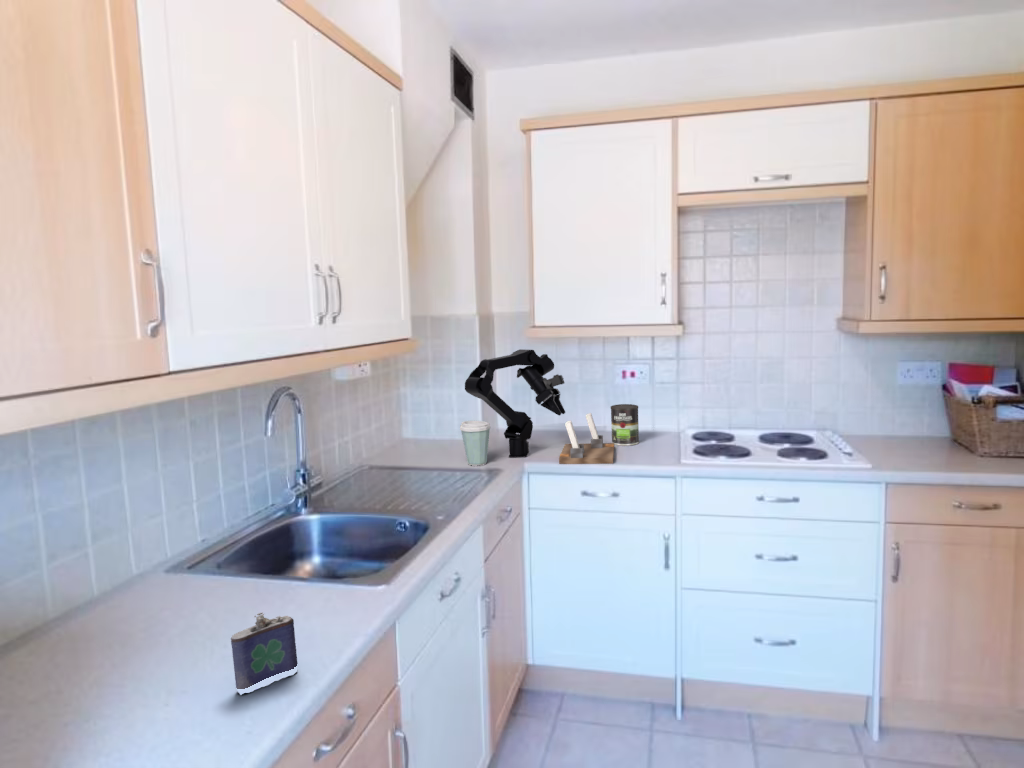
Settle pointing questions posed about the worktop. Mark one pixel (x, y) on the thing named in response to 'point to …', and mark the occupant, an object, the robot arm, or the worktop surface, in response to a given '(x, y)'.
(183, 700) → the worktop surface
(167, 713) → the worktop surface
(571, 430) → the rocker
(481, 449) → the disposable coffee cup
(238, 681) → the flask
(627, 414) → the coffee can
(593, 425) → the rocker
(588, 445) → the switch board
